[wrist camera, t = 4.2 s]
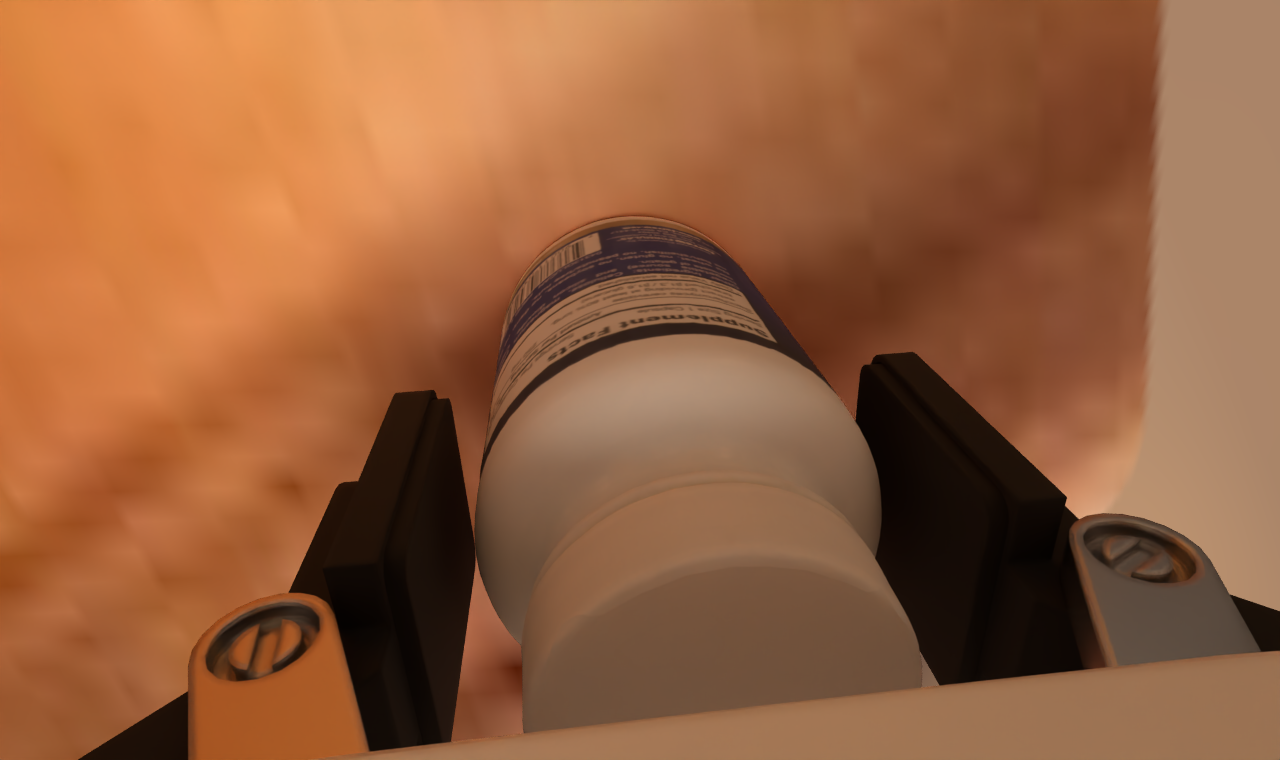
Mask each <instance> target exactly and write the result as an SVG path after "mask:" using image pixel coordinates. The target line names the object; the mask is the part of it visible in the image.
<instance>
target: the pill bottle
mask: <svg viewBox="0 0 1280 760" xmlns="http://www.w3.org/2000/svg"><path fill="white" fill-rule="evenodd" d="M881 521H882V507H881V491H880V484H879V478H878V473H877V469H876V466H875V462H874V460H873V457H872V454H871V451H870V449H869V446H868V444H867V442H866V440H865V438H864V436H863V434H862V432H861V430H860V428H859V427H858V425H857V423H856V422H855V420H854V419H853V417H852V416H851V414H850V412H849V411H848V409H847V408H846V406H845V405H844V403H843V402H842V401H841V399H840V398H839V396H838V395H837V394H836V392H835V391H834V390H833V388H832V387H831V386H830V384H829V383H828V382H827V381H826V379H825V378H824V377H823V375H822V374H821V373H820V371H819V370H818V369H817V367H816V366H815V365H814V364H813V362H812V361H811V359H810V358H809V357H808V355H807V354H806V353H805V351H804V350H803V349H802V347H801V346H800V345H799V344H798V342H797V341H796V340H795V338H794V337H793V336H792V334H791V333H790V332H789V330H788V329H787V328H786V326H785V325H784V323H783V322H782V321H781V320H780V318H779V317H778V316H777V314H776V313H775V312H774V310H773V309H772V308H771V307H770V305H769V304H768V303H767V301H766V300H765V299H764V297H763V296H762V295H761V293H760V292H759V291H758V289H757V288H756V287H755V286H754V284H753V283H752V282H751V280H750V279H749V278H748V276H747V275H746V274H745V272H744V271H743V270H742V268H741V267H740V266H739V265H738V264H737V263H736V262H735V261H734V259H733V258H732V257H731V256H730V255H729V254H728V253H727V252H726V251H725V250H724V249H723V248H721V247H720V246H719V245H718V244H717V243H715V242H714V241H713V240H711V239H710V238H708V237H707V236H705V235H704V234H702V233H700V232H698V231H696V230H694V229H692V228H690V227H688V226H685V225H683V224H680V223H677V222H674V221H670V220H665V219H660V218H654V217H642V216H625V217H616V218H611V219H606V220H601V221H597V222H594V223H591V224H588V225H586V226H583V227H581V228H578V229H576V230H574V231H572V232H570V233H569V234H567V235H565V236H563V237H562V238H560V239H559V240H557V241H556V242H554V243H553V244H552V245H551V246H549V247H548V248H547V249H546V250H544V251H543V252H542V253H541V254H540V255H539V256H538V257H537V258H536V259H535V260H534V262H533V263H532V264H531V265H530V266H529V268H528V269H527V270H526V271H525V273H524V274H523V276H522V277H521V279H520V281H519V282H518V284H517V286H516V288H515V290H514V292H513V294H512V297H511V299H510V302H509V305H508V308H507V311H506V314H505V319H504V323H503V327H502V334H501V342H500V348H499V355H498V361H497V369H496V376H495V382H494V389H493V394H492V401H491V407H490V413H489V421H488V428H487V435H486V441H485V447H484V453H483V459H482V464H481V470H480V483H479V488H478V495H477V504H476V512H475V528H474V532H475V548H476V557H477V561H478V566H479V571H480V575H481V578H482V580H483V583H484V586H485V589H486V591H487V594H488V596H489V598H490V600H491V603H492V605H493V607H494V609H495V611H496V612H497V614H498V616H499V618H500V619H501V621H502V622H503V624H504V625H505V627H506V628H507V630H508V631H509V632H510V634H511V635H512V636H513V637H514V639H515V640H516V641H517V642H518V643H519V644H520V645H521V648H522V667H523V731H524V733H531V732H540V731H548V730H557V729H565V728H573V727H582V726H590V725H599V724H607V723H616V722H624V721H633V720H641V719H649V718H658V717H666V716H675V715H684V714H693V713H701V712H710V711H719V710H728V709H736V708H745V707H754V706H763V705H771V704H780V703H789V702H798V701H806V700H815V699H824V698H833V697H842V696H851V695H860V694H869V693H878V692H887V691H895V690H904V689H913V688H921V686H922V662H921V655H920V650H919V644H918V641H917V638H916V635H915V632H914V630H913V628H912V625H911V623H910V621H909V618H908V617H907V615H906V613H905V611H904V609H903V607H902V606H901V604H900V602H899V600H898V599H897V597H896V595H895V593H894V592H893V590H892V588H891V587H890V585H889V583H888V581H887V579H886V577H885V575H884V574H883V572H882V570H881V568H880V566H879V564H878V563H877V561H876V559H875V556H876V553H877V548H878V544H879V539H880V530H881Z"/></svg>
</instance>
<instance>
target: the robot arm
mask: <svg viewBox="0 0 1280 760" xmlns="http://www.w3.org/2000/svg"><path fill="white" fill-rule="evenodd" d="M855 422H856V423H857V425H858V427H859V428H860V430H861V432H862V434H863V436H864V438H865V440H866V442H867V444H868V446H869V449H870V451H871V454H872V457H873V460H874V462H875V466H876V469H877V473H878V478H879V484H880V491H881V507H882V521H881V530H880V539H879V544H878V548H877V553H876V556H875V559H876V561H877V563H878V564H879V566H880V568H881V570H882V572H883V574H884V575H885V577H886V579H887V581H888V583H889V585H890V587H891V588H892V590H893V592H894V593H895V595H896V597H897V599H898V600H899V602H900V604H901V606H902V607H903V609H904V611H905V613H906V615H907V617H908V618H909V621H910V623H911V625H912V628H913V630H914V632H915V635H916V638H917V641H918V644H919V650H920V652H921V654H922V655H923V657H924V659H925V661H926V662H927V664H928V666H929V668H930V669H931V671H932V673H933V674H934V676H935V678H936V680H937V682H938V683H939V685H940V686H931V687H923V688H913V689H904V690H895V691H887V692H878V693H869V694H860V695H851V696H842V697H833V698H824V699H815V700H806V701H798V702H789V703H780V704H771V705H763V706H754V707H745V708H736V709H728V710H719V711H710V712H701V713H693V714H684V715H675V716H666V717H658V718H649V719H641V720H633V721H624V722H616V723H607V724H599V725H590V726H582V727H573V728H565V729H557V730H548V731H540V732H531V733H523V734H515V735H506V736H498V737H489V738H481V739H473V740H464V741H456V742H451V737H452V729H453V722H454V715H455V708H456V701H457V694H458V687H459V679H460V672H461V665H462V658H463V651H464V644H465V636H466V629H467V622H468V615H469V608H470V601H471V594H472V586H473V579H474V572H475V561H476V556H475V543H474V537H473V531H472V525H471V519H470V513H469V507H468V501H467V495H466V489H465V483H464V477H463V471H462V465H461V459H460V453H459V447H458V441H457V435H456V429H455V423H454V417H453V411H452V406H451V402H450V400H449V398H446V399H438V398H437V395H436V393H435V391H434V390H427V391H414V392H402V393H395V394H394V396H393V398H392V401H391V403H390V406H389V408H388V410H387V413H386V415H385V418H384V420H383V422H382V425H381V427H380V430H379V432H378V435H377V437H376V439H375V442H374V444H373V447H372V449H371V452H370V454H369V456H368V459H367V461H366V464H365V466H364V468H363V471H362V473H361V476H360V478H359V481H355V482H344V483H341V484H339V485H338V487H337V488H336V490H335V492H334V494H333V496H332V498H331V500H330V503H329V505H328V507H327V509H326V511H325V514H324V516H323V518H322V520H321V522H320V525H319V527H318V529H317V531H316V534H315V536H314V538H313V540H312V542H311V545H310V547H309V549H308V551H307V553H306V556H305V558H304V560H303V562H302V564H301V567H300V569H299V571H298V573H297V575H296V578H295V580H294V582H293V584H292V586H291V589H290V591H289V593H282V594H276V595H272V596H268V597H264V598H260V599H257V600H255V601H252V602H250V603H248V604H245V605H243V606H240V607H238V608H236V609H235V610H233V611H232V612H230V613H228V614H227V615H225V616H224V617H222V618H220V619H219V620H218V621H217V622H215V623H214V624H213V625H212V626H211V627H210V628H209V629H208V630H207V631H206V632H205V633H204V634H202V636H201V637H200V639H199V640H198V642H197V643H196V645H195V646H194V648H193V649H192V652H191V656H190V660H189V664H188V692H186V693H184V694H183V695H181V696H180V697H178V698H176V699H175V700H173V701H172V702H170V703H168V704H167V705H165V706H164V707H162V708H160V709H159V710H157V711H155V712H154V713H152V714H151V715H149V716H147V717H146V718H144V719H143V720H141V721H139V722H138V723H136V724H135V725H133V726H131V727H130V728H128V729H127V730H125V731H123V732H122V733H120V734H118V735H117V736H115V737H114V738H112V739H110V740H109V741H107V742H106V743H104V744H102V745H101V746H99V747H98V748H96V749H94V750H93V751H91V752H89V753H88V754H86V755H85V756H83V757H81V758H80V759H78V760H1280V611H1277V610H1274V609H1271V608H1268V607H1265V606H1262V605H1259V604H1257V603H1253V602H1250V601H1248V600H1244V599H1242V598H1238V597H1236V596H1233V595H1230V594H1229V593H1228V591H1227V589H1226V587H1225V586H1224V584H1223V582H1222V580H1221V578H1220V577H1219V575H1218V573H1217V571H1216V570H1215V568H1214V566H1213V564H1212V562H1211V561H1210V559H1209V558H1208V557H1207V556H1206V554H1205V553H1204V552H1203V551H1202V549H1201V548H1200V547H1199V546H1197V545H1196V544H1195V543H1193V542H1192V541H1191V540H1189V539H1188V538H1187V537H1185V536H1184V535H1182V534H1180V533H1178V532H1176V531H1174V530H1172V529H1170V528H1168V527H1166V526H1164V525H1161V524H1158V523H1155V522H1153V521H1150V520H1147V519H1144V518H1139V517H1134V516H1129V515H1124V514H1107V513H1102V514H1095V515H1089V516H1086V517H1083V518H1081V519H1078V518H1077V517H1076V516H1075V515H1074V514H1073V513H1072V512H1071V511H1070V510H1069V509H1068V508H1067V507H1066V506H1065V503H1066V499H1067V497H1066V496H1065V495H1064V494H1063V493H1062V492H1061V491H1060V490H1059V489H1058V488H1057V487H1056V486H1055V485H1054V484H1053V483H1052V482H1050V481H1049V480H1048V479H1047V478H1046V477H1045V476H1044V475H1043V474H1042V473H1041V472H1040V471H1039V470H1038V469H1037V468H1036V467H1035V466H1034V465H1033V464H1032V463H1030V462H1029V461H1028V460H1027V459H1026V458H1025V457H1024V456H1023V455H1022V454H1021V453H1020V452H1019V451H1018V450H1017V449H1016V448H1015V447H1014V446H1013V445H1012V444H1010V443H1009V442H1008V441H1007V440H1006V439H1005V438H1004V437H1003V436H1002V435H1001V434H1000V433H999V432H998V431H997V430H996V429H995V428H994V427H993V426H992V425H990V424H989V423H988V422H987V421H986V420H985V419H984V418H983V417H982V416H981V415H980V414H979V413H978V412H977V411H976V410H975V409H974V408H973V407H972V406H970V405H969V404H968V403H967V402H966V401H965V400H964V399H963V398H962V397H961V396H960V395H959V394H958V393H957V392H956V391H955V390H954V389H953V388H952V387H950V386H949V385H948V384H947V383H946V382H945V381H944V380H943V379H942V378H941V377H940V376H939V375H938V374H937V373H936V372H935V371H934V370H933V369H932V368H930V367H929V366H928V365H927V364H926V363H925V362H924V361H923V360H922V359H921V358H920V357H919V356H918V355H917V354H915V353H914V352H906V353H894V354H881V355H876V356H875V357H874V358H873V360H872V363H871V364H870V365H864V366H863V367H862V369H861V373H860V380H859V390H858V400H857V410H856V420H855Z"/></svg>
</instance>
